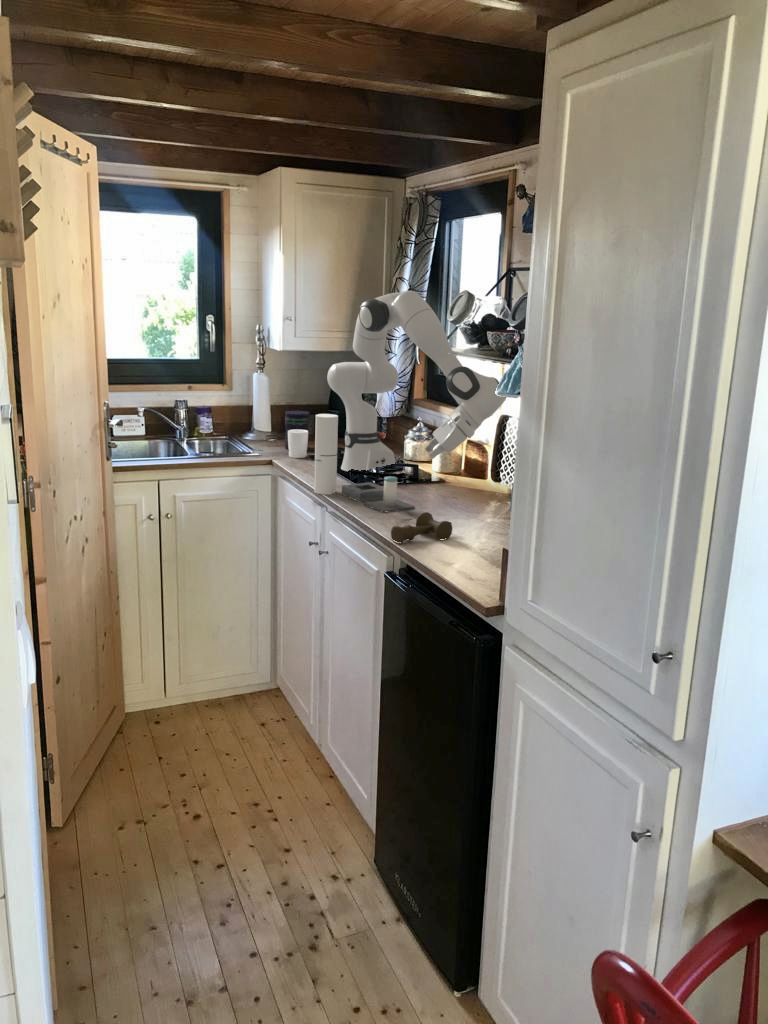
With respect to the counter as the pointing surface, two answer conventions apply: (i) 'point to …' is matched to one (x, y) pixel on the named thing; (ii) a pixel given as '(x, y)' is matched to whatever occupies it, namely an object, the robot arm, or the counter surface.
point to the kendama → (422, 528)
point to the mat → (399, 506)
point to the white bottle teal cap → (390, 491)
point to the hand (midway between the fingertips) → (428, 453)
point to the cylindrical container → (326, 453)
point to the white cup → (297, 443)
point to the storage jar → (296, 423)
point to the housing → (363, 491)
